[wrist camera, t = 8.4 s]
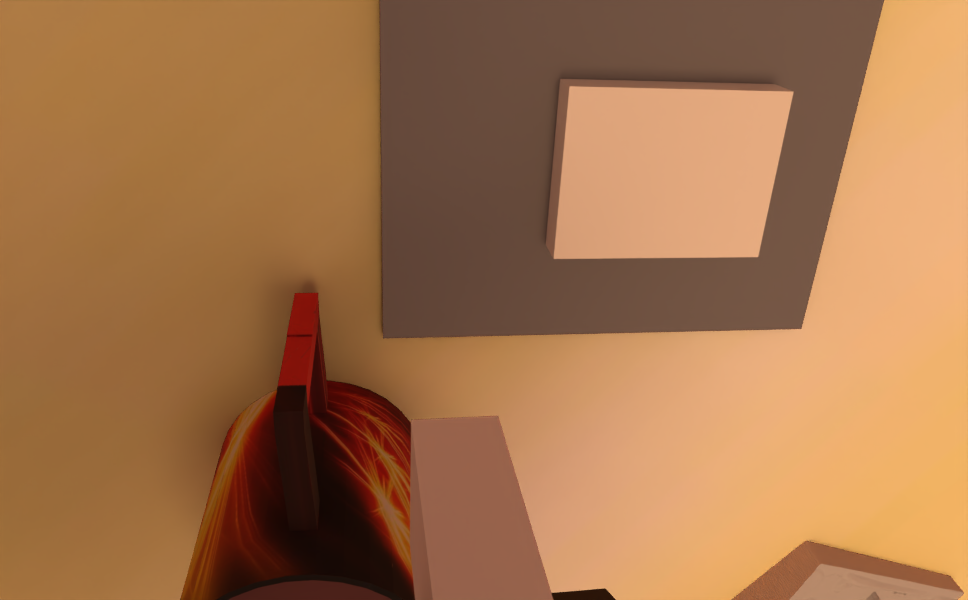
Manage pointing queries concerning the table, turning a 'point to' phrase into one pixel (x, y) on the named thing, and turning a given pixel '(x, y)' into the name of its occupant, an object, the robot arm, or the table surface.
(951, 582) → the flat printed box
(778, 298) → the mat
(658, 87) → the tile
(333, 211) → the table surface
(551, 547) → the table surface
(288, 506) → the mug
